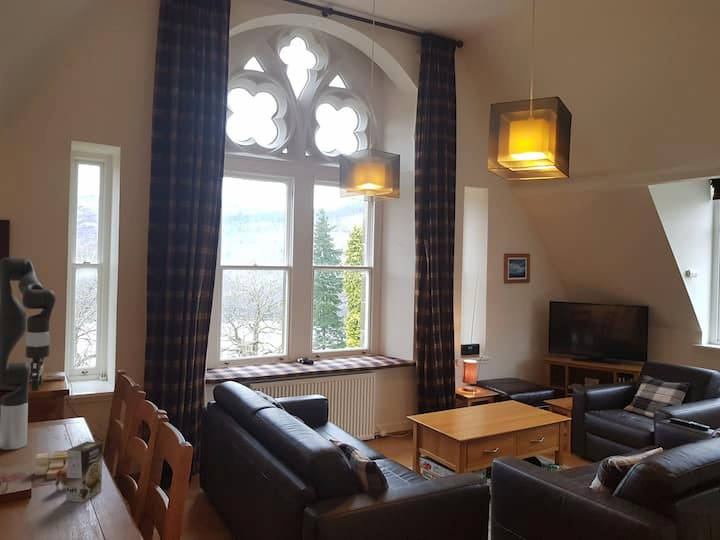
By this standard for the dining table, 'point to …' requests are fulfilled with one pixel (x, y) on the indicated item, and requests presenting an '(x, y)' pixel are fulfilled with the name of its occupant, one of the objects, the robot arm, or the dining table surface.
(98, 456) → the coffee box
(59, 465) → the board
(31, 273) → the robot arm
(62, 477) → the bull figurine
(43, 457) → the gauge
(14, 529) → the dining table surface
